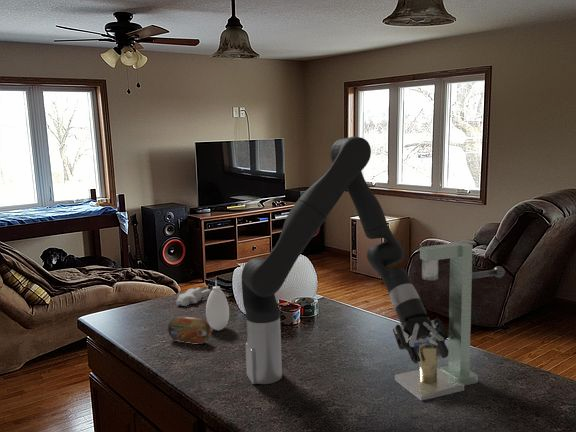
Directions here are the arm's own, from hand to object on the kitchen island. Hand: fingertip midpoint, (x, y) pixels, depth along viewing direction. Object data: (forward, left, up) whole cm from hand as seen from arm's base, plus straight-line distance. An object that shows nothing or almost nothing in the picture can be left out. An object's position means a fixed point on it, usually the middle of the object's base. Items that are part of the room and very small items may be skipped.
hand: (432, 359), depth 133 cm
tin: (-53, +57, -8) cm, 78 cm away
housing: (0, +1, -6) cm, 6 cm away
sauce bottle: (-42, +64, -8) cm, 77 cm away
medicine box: (+12, +25, -8) cm, 29 cm away
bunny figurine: (-45, +100, -8) cm, 109 cm away
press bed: (+9, +1, -8) cm, 12 cm away
